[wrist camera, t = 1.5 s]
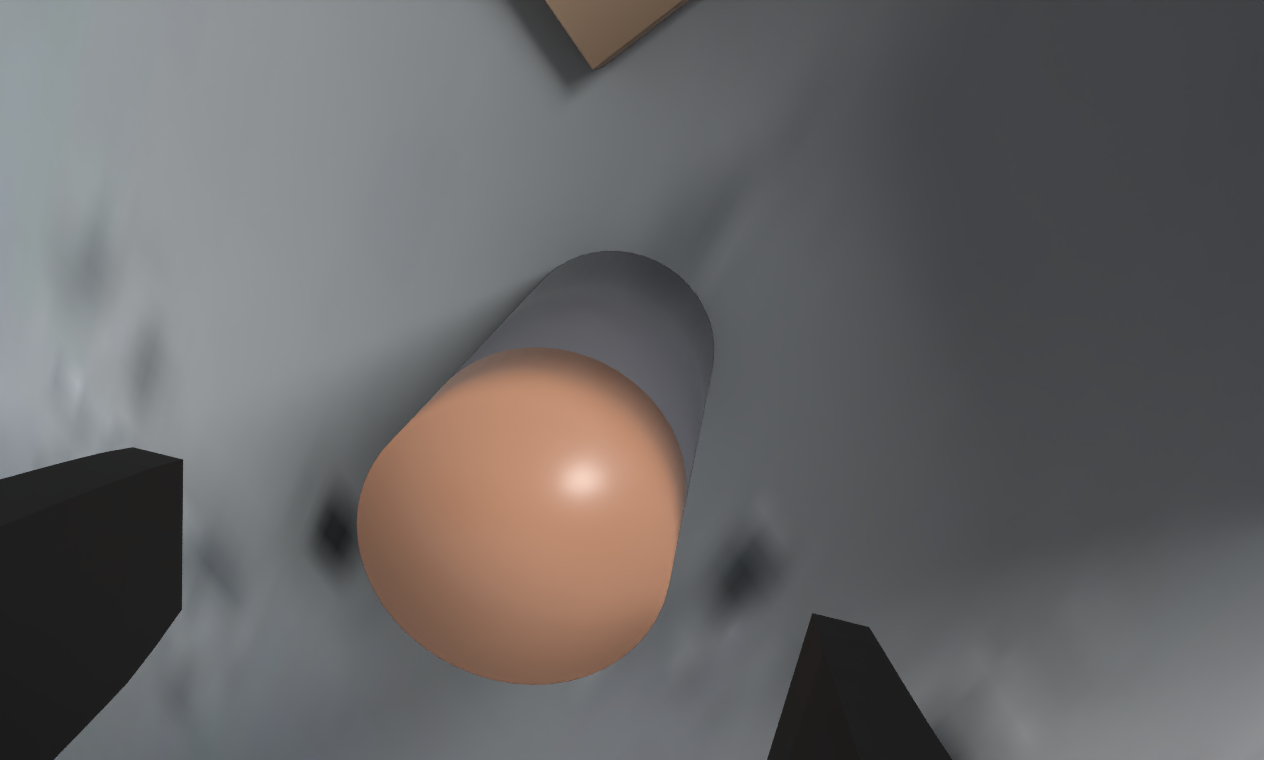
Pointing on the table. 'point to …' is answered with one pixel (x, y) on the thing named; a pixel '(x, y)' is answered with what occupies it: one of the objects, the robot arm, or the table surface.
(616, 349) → the gray and tan capsule
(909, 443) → the table surface
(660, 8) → the brown picture frame
